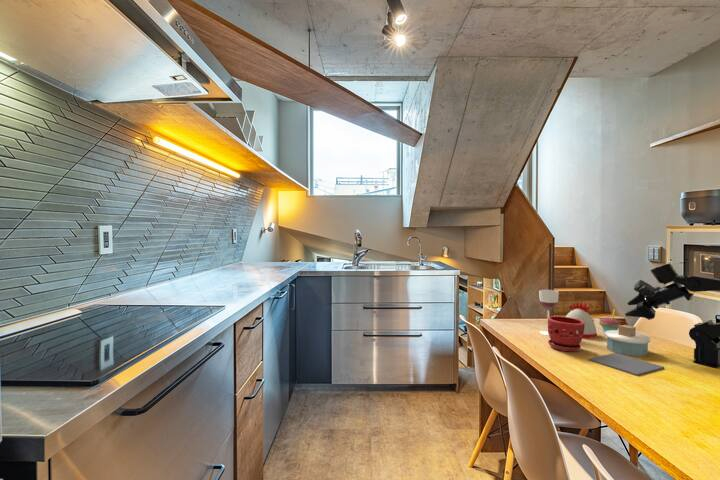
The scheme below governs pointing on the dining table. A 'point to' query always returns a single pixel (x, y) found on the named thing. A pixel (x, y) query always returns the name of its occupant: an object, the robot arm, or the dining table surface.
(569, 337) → the plant pot
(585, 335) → the kitchen timer
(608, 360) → the mat
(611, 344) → the bowl
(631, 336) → the lid
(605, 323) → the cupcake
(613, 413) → the dining table surface
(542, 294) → the wineglass
